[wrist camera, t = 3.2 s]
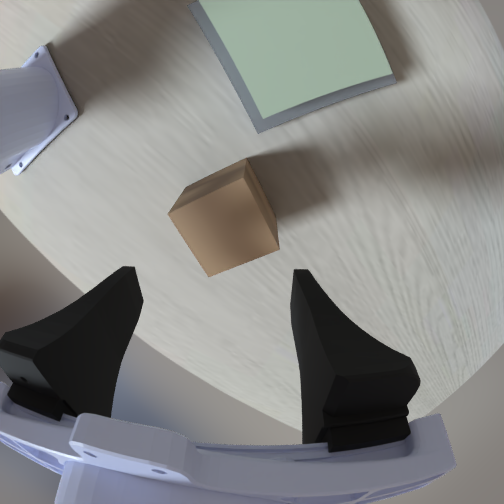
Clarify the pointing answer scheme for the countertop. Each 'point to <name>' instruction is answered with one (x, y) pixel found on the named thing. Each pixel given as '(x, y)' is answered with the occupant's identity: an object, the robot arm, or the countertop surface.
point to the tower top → (297, 47)
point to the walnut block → (226, 219)
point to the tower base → (246, 97)
